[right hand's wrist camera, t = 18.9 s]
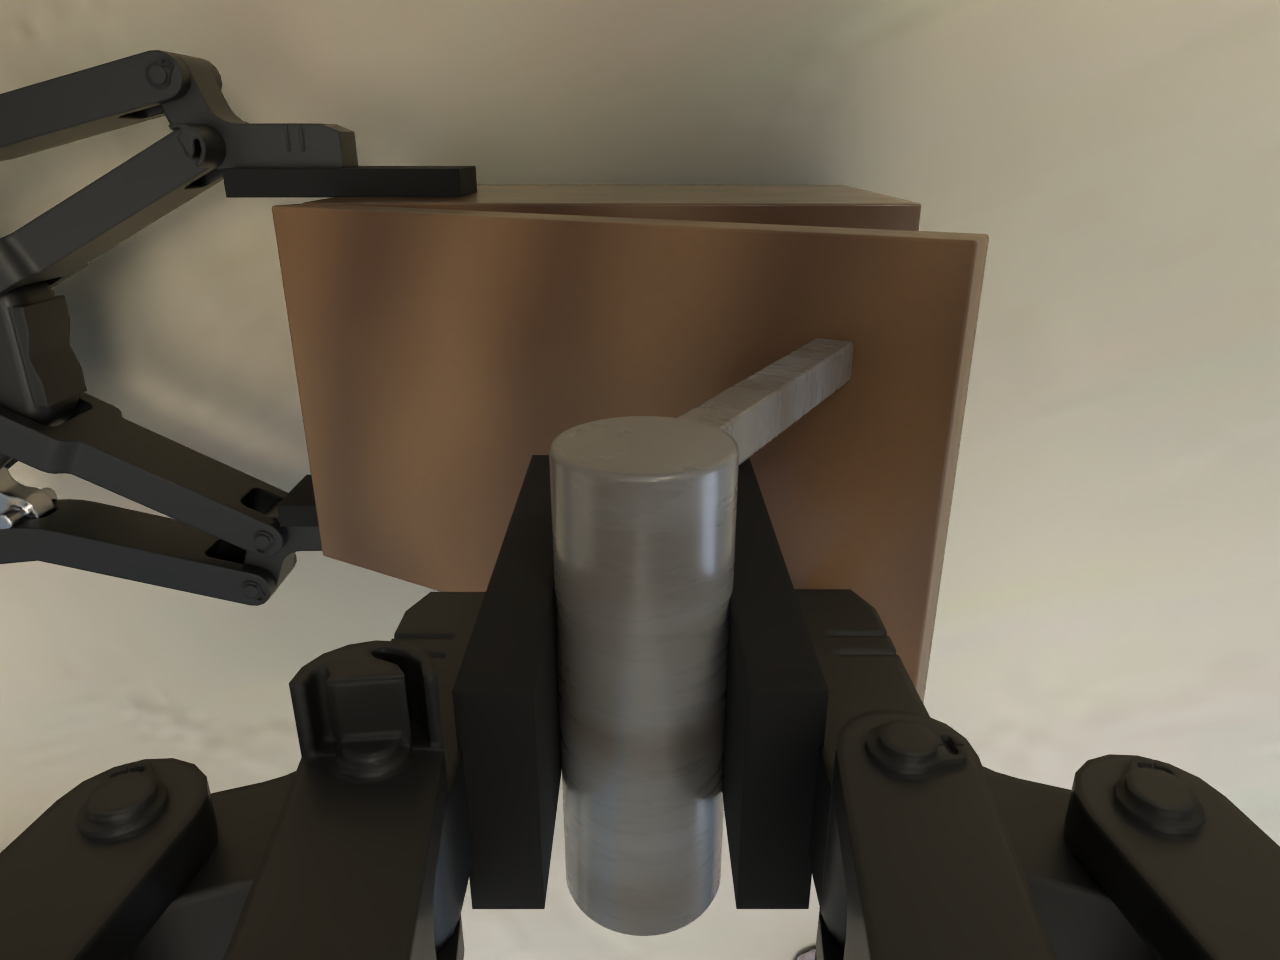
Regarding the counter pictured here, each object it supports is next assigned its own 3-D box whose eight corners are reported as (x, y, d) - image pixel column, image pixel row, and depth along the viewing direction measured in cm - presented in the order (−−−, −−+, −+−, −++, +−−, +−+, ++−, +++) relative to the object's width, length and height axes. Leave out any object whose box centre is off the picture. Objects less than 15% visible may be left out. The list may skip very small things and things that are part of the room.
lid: (989, 233, 14) (811, 329, 7) (923, 704, 18) (756, 1101, 10) (310, 202, 22) (-127, 234, 14) (354, 540, 25) (19, 705, 18)
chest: (844, 185, 31) (921, 203, 21) (824, 434, 34) (883, 544, 25) (409, 184, 31) (301, 202, 22) (432, 431, 35) (346, 538, 25)
